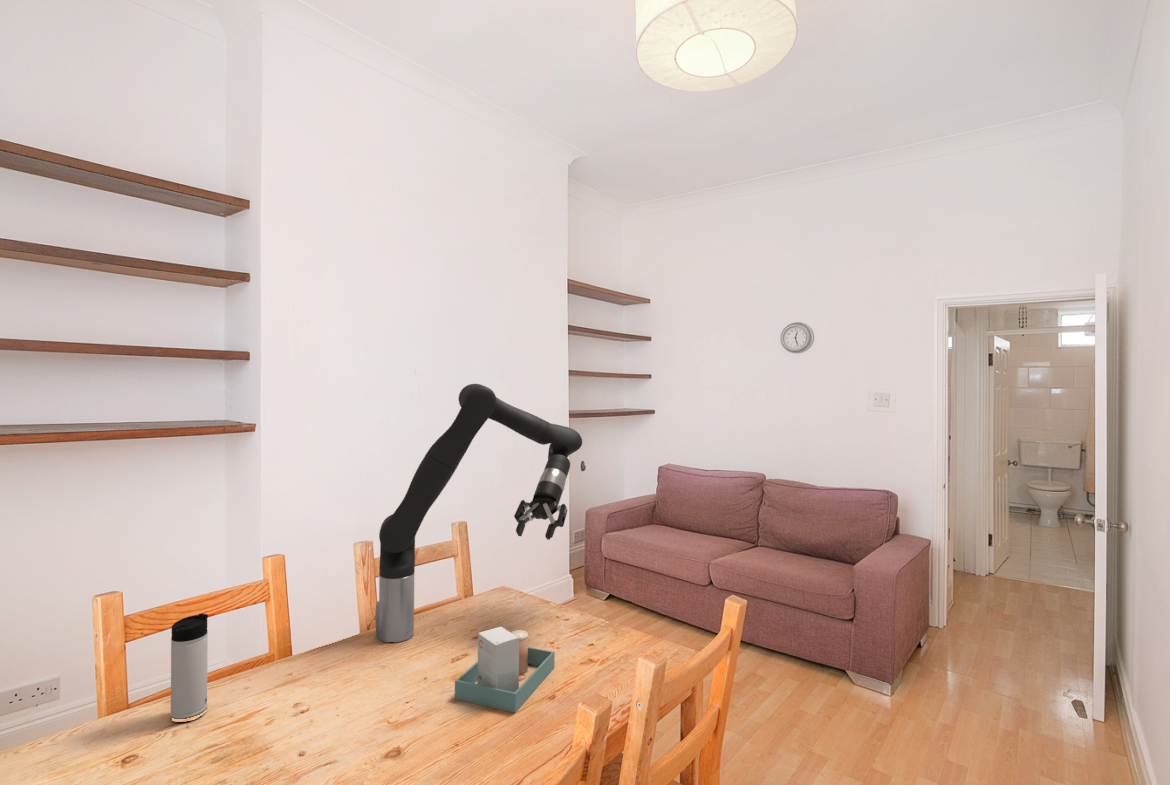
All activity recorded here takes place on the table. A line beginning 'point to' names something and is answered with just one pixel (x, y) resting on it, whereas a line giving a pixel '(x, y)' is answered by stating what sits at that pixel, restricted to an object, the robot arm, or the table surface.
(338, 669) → the table surface
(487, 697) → the tray
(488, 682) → the small box
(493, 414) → the robot arm
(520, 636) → the jar
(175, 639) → the travel mug
